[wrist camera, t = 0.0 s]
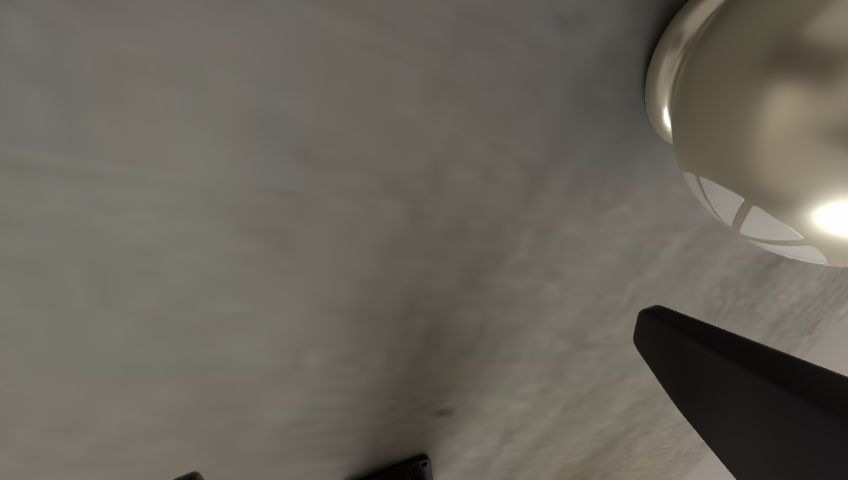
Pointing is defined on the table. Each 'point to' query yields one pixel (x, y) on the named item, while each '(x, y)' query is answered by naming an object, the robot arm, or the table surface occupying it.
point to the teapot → (760, 118)
